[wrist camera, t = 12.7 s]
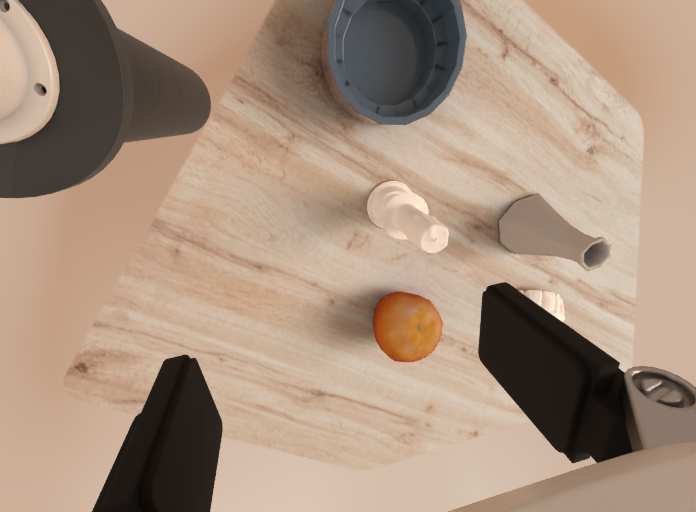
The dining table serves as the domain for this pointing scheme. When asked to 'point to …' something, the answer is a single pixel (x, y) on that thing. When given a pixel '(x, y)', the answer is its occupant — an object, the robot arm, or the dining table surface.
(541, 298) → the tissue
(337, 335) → the dining table surface
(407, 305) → the fruit
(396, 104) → the bowl
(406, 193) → the candle
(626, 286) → the dining table surface
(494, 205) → the dining table surface
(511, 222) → the flask
